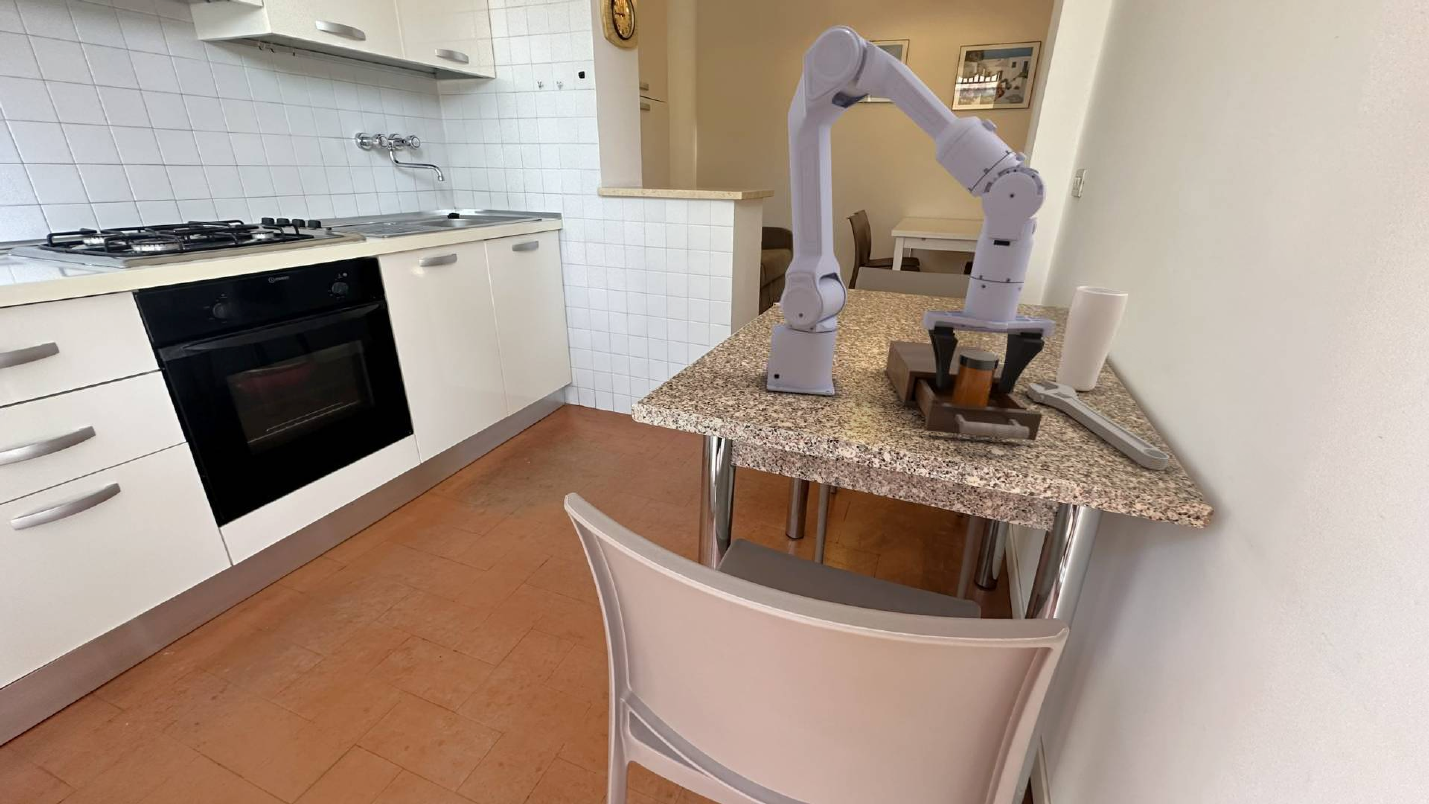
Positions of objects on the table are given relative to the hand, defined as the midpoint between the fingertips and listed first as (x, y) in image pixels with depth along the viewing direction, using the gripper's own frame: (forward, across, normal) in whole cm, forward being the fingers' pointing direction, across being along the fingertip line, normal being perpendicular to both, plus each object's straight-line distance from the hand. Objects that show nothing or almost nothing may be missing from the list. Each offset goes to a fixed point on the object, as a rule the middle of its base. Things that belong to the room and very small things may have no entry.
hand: (972, 388), depth 71 cm
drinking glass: (+5, +22, +20) cm, 30 cm away
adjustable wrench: (+5, +16, +4) cm, 17 cm away
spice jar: (+3, 0, 0) cm, 3 cm away
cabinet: (+5, 0, +12) cm, 13 cm away
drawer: (+4, 0, -1) cm, 4 cm away
